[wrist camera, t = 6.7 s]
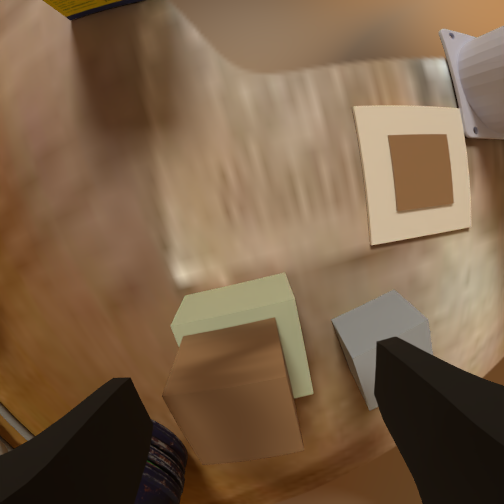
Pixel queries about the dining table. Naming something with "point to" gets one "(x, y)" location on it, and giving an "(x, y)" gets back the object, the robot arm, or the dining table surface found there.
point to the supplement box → (84, 6)
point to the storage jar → (163, 469)
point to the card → (413, 170)
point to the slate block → (378, 335)
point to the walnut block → (234, 394)
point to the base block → (250, 319)
